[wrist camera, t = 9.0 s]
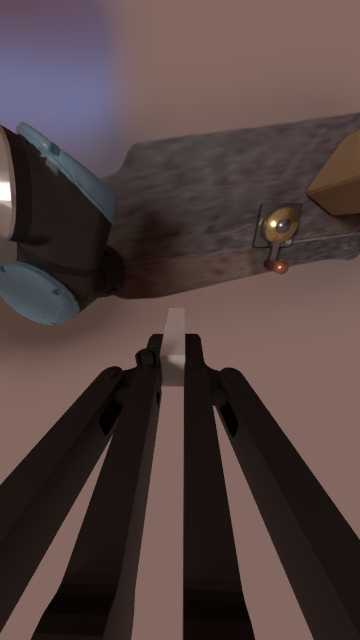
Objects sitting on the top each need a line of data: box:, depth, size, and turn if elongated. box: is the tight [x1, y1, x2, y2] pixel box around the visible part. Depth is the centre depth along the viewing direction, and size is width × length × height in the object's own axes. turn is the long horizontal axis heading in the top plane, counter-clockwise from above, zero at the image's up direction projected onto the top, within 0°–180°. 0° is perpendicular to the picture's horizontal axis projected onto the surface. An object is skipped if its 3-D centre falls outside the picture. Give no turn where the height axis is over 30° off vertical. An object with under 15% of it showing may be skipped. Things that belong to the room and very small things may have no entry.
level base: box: [252, 203, 303, 247], centre depth 38 cm, size 9×9×2 cm
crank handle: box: [262, 207, 298, 274], centre depth 36 cm, size 13×7×7 cm, turn 2°
